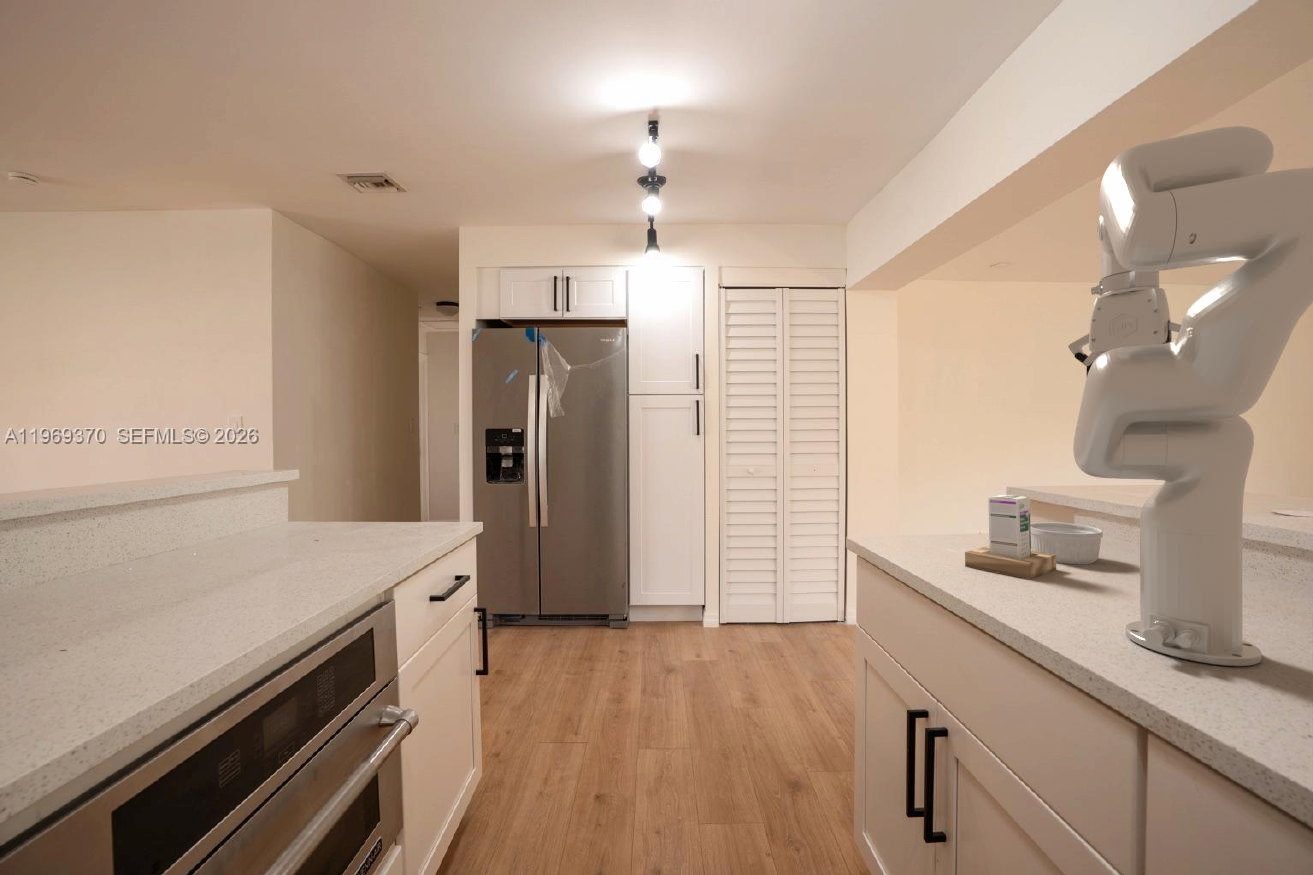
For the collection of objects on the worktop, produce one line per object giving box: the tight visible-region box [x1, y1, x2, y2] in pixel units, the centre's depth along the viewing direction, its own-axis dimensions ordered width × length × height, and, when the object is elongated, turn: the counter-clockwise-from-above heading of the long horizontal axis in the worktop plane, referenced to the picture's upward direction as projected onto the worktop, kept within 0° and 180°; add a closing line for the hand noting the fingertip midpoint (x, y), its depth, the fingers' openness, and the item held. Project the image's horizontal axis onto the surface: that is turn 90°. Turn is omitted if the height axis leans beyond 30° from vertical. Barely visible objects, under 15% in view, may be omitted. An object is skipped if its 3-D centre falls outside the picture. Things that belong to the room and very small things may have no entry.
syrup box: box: [987, 494, 1032, 560], centre depth 109 cm, size 6×6×14 cm
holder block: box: [964, 545, 1057, 580], centre depth 110 cm, size 12×12×3 cm
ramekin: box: [1030, 521, 1104, 565], centre depth 117 cm, size 13×13×7 cm
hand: (1129, 385), depth 91 cm, fingers open, 9 cm apart
